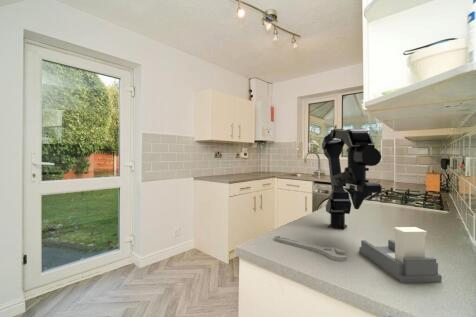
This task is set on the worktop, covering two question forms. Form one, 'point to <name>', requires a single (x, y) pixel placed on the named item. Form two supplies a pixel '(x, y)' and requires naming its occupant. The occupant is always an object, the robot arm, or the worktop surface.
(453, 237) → the worktop surface
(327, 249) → the adjustable wrench
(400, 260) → the switch tab
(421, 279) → the switch housing
